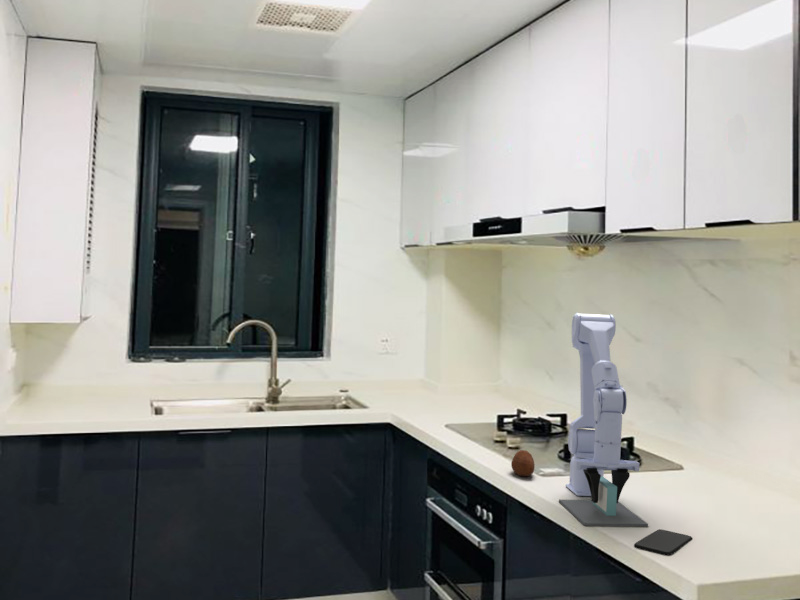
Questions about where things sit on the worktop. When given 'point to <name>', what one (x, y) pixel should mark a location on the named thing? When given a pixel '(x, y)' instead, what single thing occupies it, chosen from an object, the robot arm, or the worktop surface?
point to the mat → (602, 514)
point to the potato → (523, 463)
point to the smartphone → (663, 542)
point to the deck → (607, 497)
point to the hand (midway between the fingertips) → (604, 501)
